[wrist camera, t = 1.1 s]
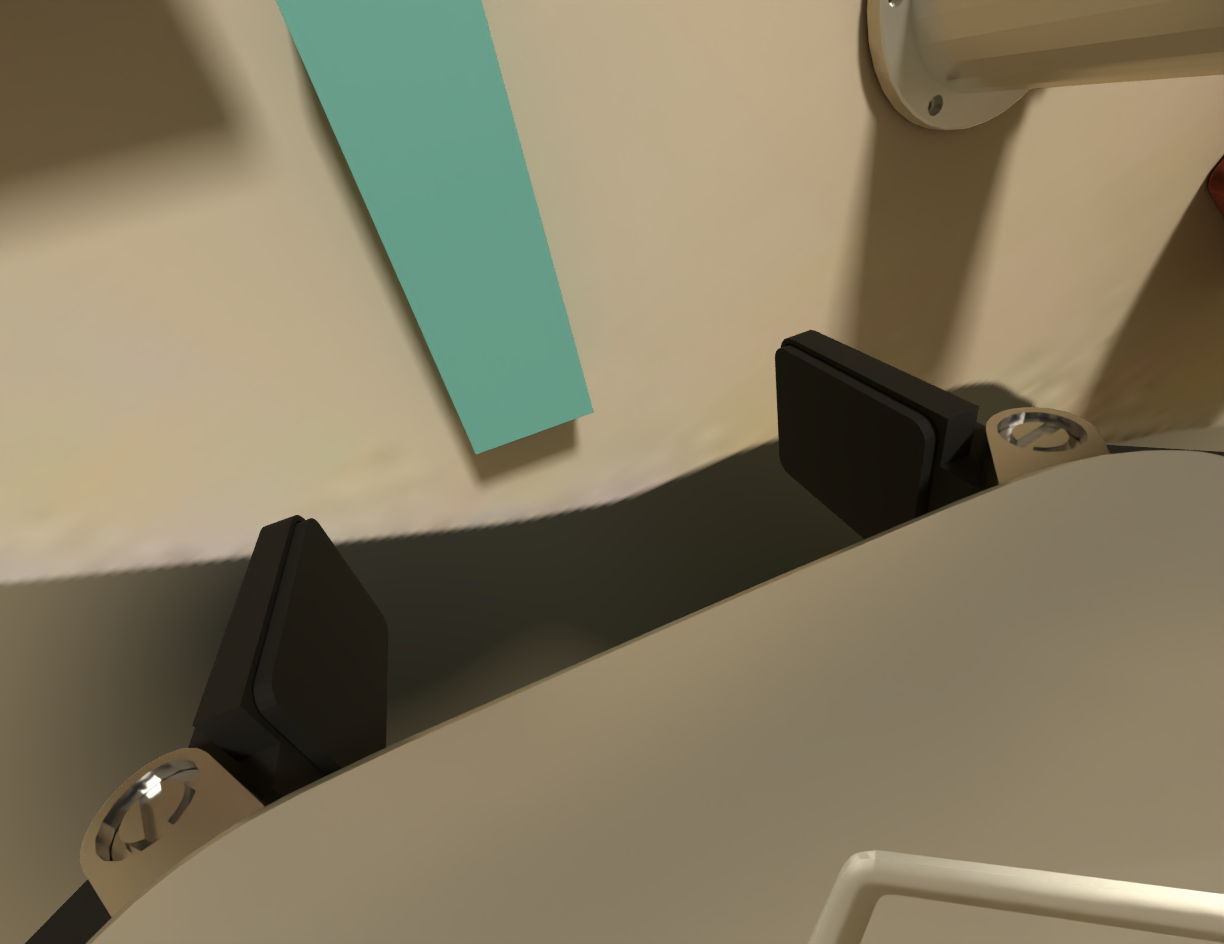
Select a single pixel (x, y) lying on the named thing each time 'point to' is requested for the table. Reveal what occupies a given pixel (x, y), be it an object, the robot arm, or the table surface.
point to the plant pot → (1218, 185)
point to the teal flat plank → (449, 201)
